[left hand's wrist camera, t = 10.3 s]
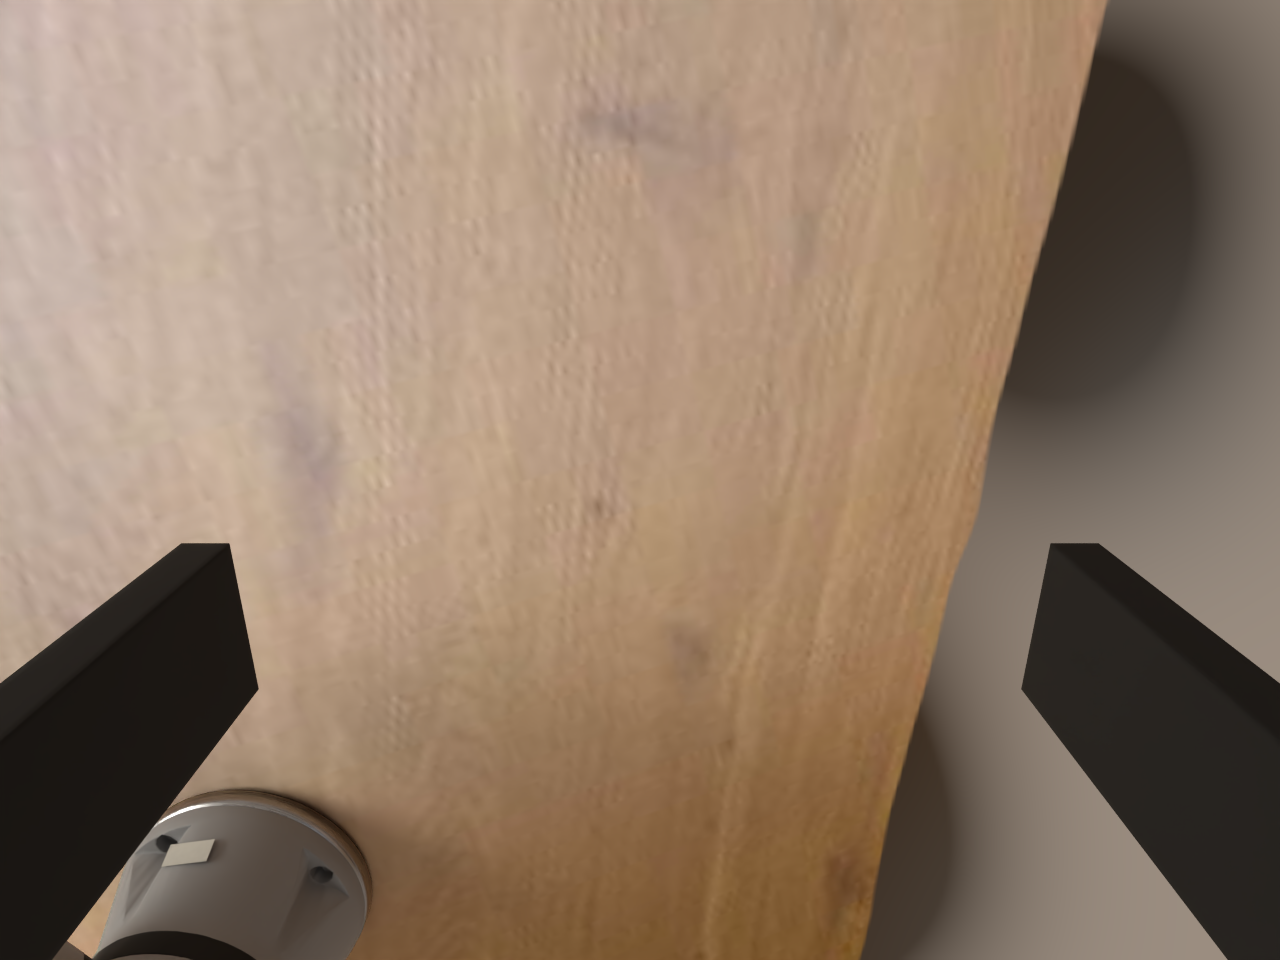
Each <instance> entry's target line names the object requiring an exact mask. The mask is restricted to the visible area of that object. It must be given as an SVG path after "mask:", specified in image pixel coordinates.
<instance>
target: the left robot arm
mask: <svg viewBox="0 0 1280 960" xmlns="http://www.w3.org/2000/svg"><path fill="white" fill-rule="evenodd" d="M1022 690H1023V692H1024V693H1025V694H1026V696H1027V697H1028V698H1029V700H1030V701H1031V702H1032V704H1033V705H1034V706H1035V708H1036V709H1037V710H1038V712H1039V713H1040V714H1041V715H1042V717H1043V718H1044V719H1045V721H1046V722H1047V723H1048V725H1049V726H1050V727H1051V729H1052V730H1053V731H1054V733H1055V734H1056V735H1057V736H1058V738H1059V739H1060V740H1061V742H1062V743H1063V744H1064V746H1065V747H1066V748H1067V750H1068V751H1069V752H1070V754H1071V755H1072V756H1073V757H1074V759H1075V760H1076V761H1077V763H1078V764H1079V765H1080V767H1081V768H1082V769H1083V771H1084V772H1085V773H1086V774H1087V776H1088V777H1089V778H1090V780H1091V781H1092V782H1093V784H1094V785H1095V786H1096V788H1097V789H1098V790H1099V792H1100V793H1101V794H1102V795H1103V797H1104V798H1105V799H1106V801H1107V802H1108V803H1109V805H1110V806H1111V807H1112V809H1113V810H1114V811H1115V812H1116V814H1117V815H1118V816H1119V818H1120V819H1121V820H1122V822H1123V823H1124V824H1125V826H1126V827H1127V828H1128V830H1129V831H1130V832H1131V833H1132V835H1133V836H1134V837H1135V839H1136V840H1137V841H1138V843H1139V844H1140V845H1141V847H1142V848H1143V849H1144V851H1145V852H1146V853H1147V854H1148V856H1149V857H1150V858H1151V860H1152V861H1153V862H1154V864H1155V865H1156V866H1157V868H1158V869H1159V870H1160V872H1161V873H1162V874H1163V875H1164V877H1165V878H1166V879H1167V881H1168V882H1169V883H1170V885H1171V886H1172V887H1173V889H1174V890H1175V891H1176V893H1177V894H1178V895H1179V896H1180V898H1181V899H1182V900H1183V902H1184V903H1185V904H1186V906H1187V907H1188V908H1189V910H1190V911H1191V912H1192V913H1193V915H1194V916H1195V917H1196V919H1197V920H1198V921H1199V923H1200V924H1201V925H1202V927H1203V928H1204V929H1205V931H1206V932H1207V933H1208V934H1209V936H1210V937H1211V938H1212V940H1213V941H1214V942H1215V944H1216V945H1217V946H1218V948H1219V949H1220V950H1221V951H1222V953H1223V954H1224V955H1225V957H1226V958H1227V959H1228V960H1280V683H1278V682H1277V681H1276V680H1275V679H1273V678H1272V677H1271V676H1269V675H1268V674H1267V673H1266V672H1264V671H1263V670H1262V669H1260V668H1259V667H1258V666H1256V665H1255V664H1254V663H1253V662H1251V661H1250V660H1249V659H1247V658H1246V657H1245V656H1244V655H1242V654H1241V653H1240V652H1238V651H1237V650H1236V649H1234V648H1233V647H1232V646H1231V645H1229V644H1228V643H1227V642H1225V641H1224V640H1223V639H1222V638H1220V637H1219V636H1218V635H1216V634H1215V633H1214V632H1213V631H1211V630H1210V629H1208V628H1207V627H1206V626H1205V625H1203V624H1202V623H1201V622H1199V621H1198V620H1197V619H1196V618H1194V617H1193V616H1192V615H1191V614H1189V613H1188V612H1187V611H1185V610H1184V609H1183V608H1181V607H1180V606H1179V605H1178V604H1176V603H1175V602H1174V601H1172V600H1171V599H1170V598H1169V597H1167V596H1166V595H1165V594H1163V593H1162V592H1161V591H1159V590H1158V589H1157V588H1156V587H1154V586H1153V585H1152V584H1150V583H1149V582H1148V581H1147V580H1145V579H1144V578H1143V577H1141V576H1140V575H1139V574H1137V573H1136V572H1135V571H1134V570H1132V569H1131V568H1130V567H1128V566H1127V565H1126V564H1125V563H1123V562H1122V561H1121V560H1119V559H1118V558H1117V557H1115V556H1114V555H1113V554H1112V553H1110V552H1109V551H1108V550H1106V549H1105V548H1104V547H1103V546H1101V545H1100V544H1099V543H1051V544H1050V549H1049V554H1048V559H1047V564H1046V569H1045V574H1044V579H1043V584H1042V589H1041V594H1040V599H1039V604H1038V609H1037V614H1036V619H1035V624H1034V629H1033V634H1032V639H1031V644H1030V649H1029V654H1028V659H1027V664H1026V669H1025V674H1024V679H1023V684H1022ZM257 691H258V684H257V679H256V674H255V669H254V664H253V659H252V654H251V649H250V644H249V639H248V634H247V629H246V624H245V619H244V614H243V609H242V604H241V599H240V594H239V589H238V584H237V579H236V574H235V569H234V564H233V559H232V554H231V549H230V544H229V543H181V544H180V545H179V546H177V547H176V548H175V549H174V550H172V551H171V552H170V553H168V554H167V555H166V556H165V557H163V558H162V559H161V560H159V561H158V562H157V563H155V564H154V565H153V566H152V567H150V568H149V569H148V570H146V571H145V572H144V573H143V574H141V575H140V576H139V577H137V578H136V579H135V580H133V581H132V582H131V583H130V584H128V585H127V586H126V587H124V588H123V589H122V590H121V591H119V592H118V593H117V594H115V595H114V596H113V597H111V598H110V599H109V600H108V601H106V602H105V603H104V604H102V605H101V606H100V607H99V608H97V609H96V610H95V611H93V612H92V613H91V614H89V615H88V616H87V617H86V618H84V619H83V620H82V621H80V622H79V623H78V624H77V625H75V626H74V627H73V628H71V629H70V630H69V631H67V632H66V633H65V634H64V635H62V636H61V637H60V638H58V639H57V640H56V641H55V642H53V643H52V644H51V645H49V646H48V647H47V648H45V649H44V650H43V651H42V652H40V653H39V654H38V655H36V656H35V657H34V658H33V659H31V660H30V661H29V662H27V663H26V664H25V665H24V666H22V667H21V668H20V669H18V670H17V671H16V672H14V673H13V674H12V675H11V676H9V677H8V678H7V679H5V680H4V681H3V682H2V683H0V960H345V959H346V958H347V957H348V955H349V954H350V952H351V951H352V949H353V947H354V945H355V943H356V941H357V940H358V938H359V936H360V934H361V932H362V929H363V927H364V924H365V921H366V919H367V916H368V913H369V910H370V906H371V901H372V883H371V878H370V874H369V870H368V868H367V865H366V863H365V861H364V859H363V857H362V855H361V853H360V852H359V850H358V849H357V847H356V846H355V844H354V843H353V842H352V841H351V840H350V838H349V837H348V836H347V835H346V834H345V833H344V832H343V831H342V830H341V829H340V828H338V827H337V826H336V825H335V824H334V823H333V822H331V821H330V820H328V819H327V818H326V817H324V816H323V815H321V814H319V813H318V812H316V811H314V810H312V809H310V808H308V807H306V806H304V805H302V804H300V803H297V802H295V801H293V800H290V799H287V798H284V797H281V796H277V795H273V794H269V793H263V792H257V791H247V790H225V791H216V792H209V793H205V794H201V795H197V796H194V797H191V798H188V799H186V800H184V801H181V802H179V803H177V804H176V805H174V806H172V807H171V808H169V809H168V807H169V806H170V805H171V803H172V802H173V801H174V799H175V798H176V797H177V795H178V794H179V793H180V792H181V790H182V789H183V788H184V786H185V785H186V784H187V782H188V781H189V780H190V778H191V777H192V776H193V774H194V773H195V772H196V771H197V769H198V768H199V767H200V765H201V764H202V763H203V761H204V760H205V759H206V757H207V756H208V755H209V754H210V752H211V751H212V750H213V748H214V747H215V746H216V744H217V743H218V742H219V740H220V739H221V738H222V736H223V735H224V734H225V733H226V731H227V730H228V729H229V727H230V726H231V725H232V723H233V722H234V721H235V719H236V718H237V717H238V715H239V714H240V713H241V712H242V710H243V709H244V708H245V706H246V705H247V704H248V702H249V701H250V700H251V698H252V697H253V696H254V694H255V693H256V692H257ZM167 809H168V810H167ZM126 862H127V863H126ZM125 864H126V865H125ZM124 865H125V868H124V870H123V873H122V876H121V880H120V883H119V886H118V889H117V892H116V895H115V898H114V901H113V904H112V907H111V910H110V913H109V916H108V919H107V922H106V925H105V928H104V931H103V934H102V937H101V940H100V943H99V946H98V950H97V952H96V953H95V955H94V956H93V958H92V959H91V958H90V957H88V956H87V955H85V954H84V953H83V952H82V951H80V950H79V949H78V948H76V947H75V946H73V945H72V944H70V943H69V942H68V941H67V940H68V938H69V937H70V936H71V934H72V933H73V932H74V931H75V929H76V928H77V927H78V925H79V924H80V923H81V921H82V920H83V919H84V917H85V916H86V915H87V913H88V912H89V911H90V910H91V908H92V907H93V906H94V904H95V903H96V902H97V900H98V899H99V898H100V896H101V895H102V894H103V893H104V891H105V890H106V889H107V887H108V886H109V885H110V883H111V882H112V881H113V879H114V878H115V877H116V875H117V874H118V873H119V872H120V870H121V869H122V868H123V866H124Z"/></svg>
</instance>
